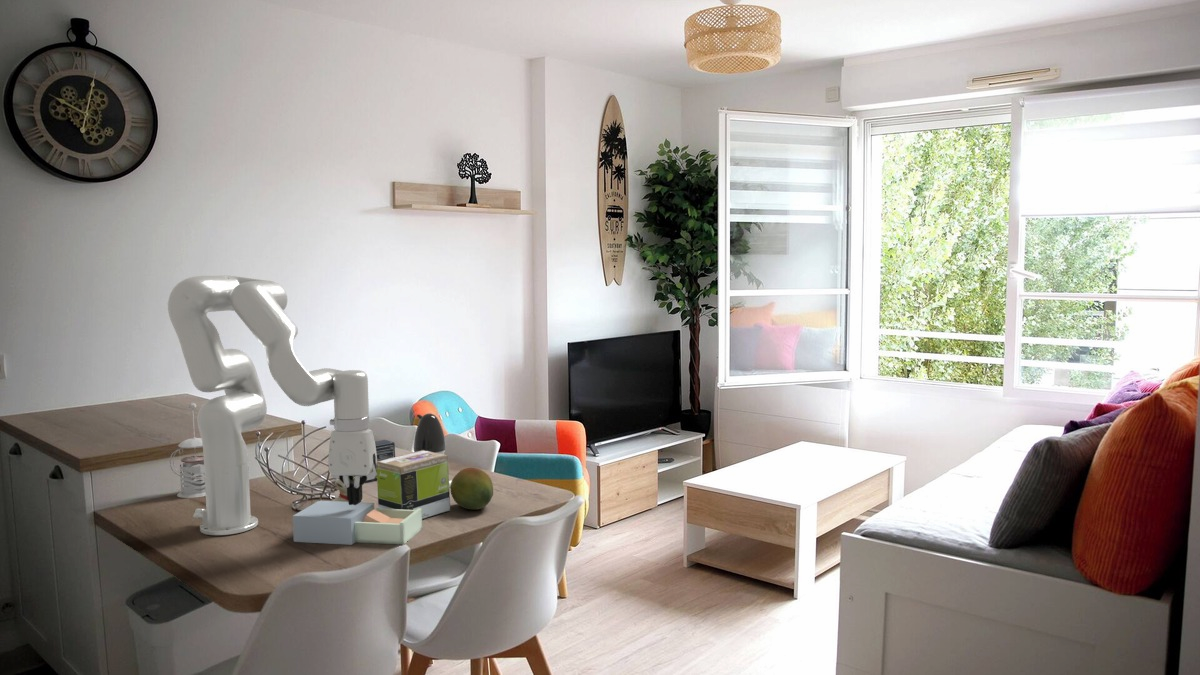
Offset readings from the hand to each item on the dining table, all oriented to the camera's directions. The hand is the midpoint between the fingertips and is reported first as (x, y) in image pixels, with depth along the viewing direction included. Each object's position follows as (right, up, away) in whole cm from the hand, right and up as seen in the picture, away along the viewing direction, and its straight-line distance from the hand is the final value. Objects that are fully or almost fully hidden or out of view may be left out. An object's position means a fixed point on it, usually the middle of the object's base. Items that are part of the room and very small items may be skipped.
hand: (355, 503), depth 187 cm
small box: (-10, -3, +52) cm, 53 cm away
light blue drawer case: (-5, -8, +1) cm, 9 cm away
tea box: (+10, -7, +16) cm, 20 cm away
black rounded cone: (+2, -1, +73) cm, 73 cm away
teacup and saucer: (+12, -5, +41) cm, 43 cm away
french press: (-56, -5, +37) cm, 67 cm away
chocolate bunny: (-8, -7, +17) cm, 20 cm away
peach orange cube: (+10, -4, -2) cm, 11 cm away
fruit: (+24, -6, +22) cm, 33 cm away
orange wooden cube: (+4, -6, 0) cm, 7 cm away
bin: (+8, -8, +1) cm, 11 cm away
